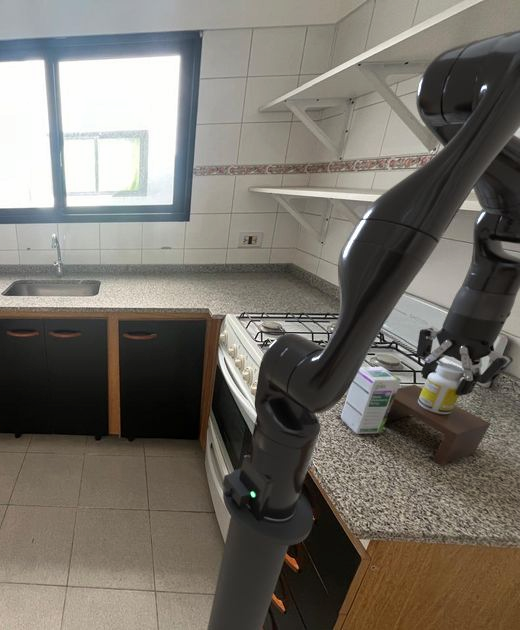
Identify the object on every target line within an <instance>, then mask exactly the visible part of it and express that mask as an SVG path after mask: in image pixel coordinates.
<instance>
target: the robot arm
mask: <svg viewBox="0 0 520 630" xmlns="http://www.w3.org/2000/svg"><path fill="white" fill-rule="evenodd" d="M415 95H416V96H415V100H416V101H415V104H416V110H417V113H418V115H419V118H420V119H421V121H422V122H423V124H424V125H425V126H426V128H427V129H428V130H429V131H430V132H431V133H432V134H433V136H434V137H435V138H436V139H437V141H439V143H440V144H441V145H442V149H440V151H439V152H438V153H436V155H434V156H433V157H432V158H431V159H429V160H428V161H427V162H426V163H424V164H423V165H421V166H420V167H419V168H418V169H416V170H414V171H413V172H412V173H410V174H409V175H407V176H406V177H405V178H403V179H402V180H400V181H399V182H398V183H396V184H394V185H393V186H392V187H390V188H389V189H388V190H386V191H385V192H384V193H382V194H381V195H380V196H379V197H378V198H376V199H375V200H374V201H373V202H372V203H371V204H369V206H368V207H367V208H366V209H365V210H364V211H363V213H361V216H360V217H359V219H358V220H357V222H356V224H355V225H354V227H353V228H352V231H351V232H350V234H349V235H348V238H347V239H346V241H345V242H344V244H343V246H342V248H341V250H340V252H339V255H338V262H337V278H338V279H337V280H338V281H337V282H338V291H339V292H338V293H339V311H338V316H337V320H336V324H335V326H334V328H333V330H332V333H331V335H330V337H329V339H328V341H327V343H326V344H325V346H322V345H320V344H318V343H316V342H314V341H312V340H310V339H308V338H306V337H304V336H302V335H300V334H296V333H285V334H282V335H279V336H278V337H276V338H275V339H274V340H272V342H271V343H270V344H269V345H268V347H267V348H266V350H265V351H264V353H263V355H262V358H261V361H260V364H259V369H258V373H257V382H256V389H255V395H254V410H255V413H256V418H255V421H254V422H255V423H254V427H253V431H252V434H251V435H252V436H251V440H250V445H249V449H248V454H247V455H244V456H243V457H242V462H241V466H240V468H241V471H240V476H238V474H237V473H236V472H235V473H232V472H231V473H228V474H225V475H224V476H223V482H222V485H223V488H224V487H225V488H226V489H227V490H226V491H225V493H224V494H225V496H226V497H233V499H234V500H235V501H236V503H237V504H238V505H239V506H241V505H244V504H245V506H246V507H247V508H248V509H249V511H250V512H251V513H252V515H253V516H254V517H255V518H256V520H257V521H261V520H265V521H268V522H272V523H284V522H287V521H289V520H291V519H292V518H293V516H294V514H295V511H296V505H297V502H298V499H299V500H301V494H300V492H302V489H303V486H304V483H305V479H306V476H307V473H308V470H309V466H310V463H311V460H312V458H313V454H314V451H315V447H316V445H317V441H318V439H319V435H320V433H321V423H320V419H319V418H318V416H317V415H318V414H324V413H325V412H328V411H330V410H331V409H332V408H334V407H336V405H337V404H339V402H340V401H341V400H342V398H343V397H344V396H345V395H346V393H348V391H349V389H350V386H351V384H352V382H353V380H354V379H355V377H356V375H357V373H358V371H359V369H360V368H361V367H362V366H363V363H364V362H365V360H366V358H367V357H368V354H369V352H370V350H371V348H372V347H373V345H374V343H375V341H376V339H377V337H378V335H379V333H380V331H382V328H383V326H384V324H385V323H386V322H387V320H388V318H389V317H390V315H391V314H392V312H393V310H394V309H395V307H396V305H397V304H398V303H399V301H400V300H401V298H402V297H403V296H404V293H405V292H406V291H407V289H408V288H409V286H410V285H411V283H412V282H413V281H414V280H415V278H416V276H417V275H418V274H419V273H420V272H421V270H422V268H423V267H424V265H425V264H426V263H427V261H428V259H429V258H430V257H431V255H432V254H433V252H434V250H435V249H436V248H437V247H438V244H439V243H440V241H441V239H442V238H443V236H444V235H445V233H446V231H447V229H448V228H449V226H450V224H451V223H452V221H453V220H454V218H455V217H456V215H457V213H458V212H459V210H460V209H461V208H462V206H463V204H464V203H465V201H466V200H467V198H468V197H469V195H471V192H472V191H474V194H475V196H476V200H477V202H478V204H479V206H480V208H481V210H480V211H479V212H478V214H477V215H476V217H475V219H474V222H473V233H472V239H473V240H472V241H473V242H472V252H471V260H470V265H469V268H468V271H467V272H466V275H465V277H464V278H463V282H462V284H461V286H460V288H459V289H458V291H457V292H456V294H455V296H454V298H453V299H452V303H451V305H450V307H449V310H448V312H447V314H446V317H445V319H444V320H443V323H442V326H441V327H442V328H441V329H440V330H436V329H434V328H432V327H429V328H422V329H420V330H419V334H418V340H417V347H416V355H417V356H418V357H421V358H422V359H423V360H424V363H423V366H422V369H420V370H421V371H420V375H421V378H422V379H424V380H427V377H428V375H429V374H430V373H431V372H435V371H436V368H437V366H438V364H439V361H441V360H442V359H443V358H445V357H450V358H454V359H455V360H457V361H459V362H460V363H461V368H462V369H463V370H464V377H463V378H461V380H462V381H461V383H460V385H459V387H458V389H457V391H456V394H457V395H459V397H462V396H466V395H470V394H471V393H473V391H474V388H475V387H476V385H477V383H478V384H482V385H483V384H487V383H492V382H494V381H496V379H497V378H498V377H499V376H500V375H501V374H502V373H503V372H504V371H505V370H506V369H507V368H508V367H509V365H510V364H512V362H513V361H514V359H513V358H512V356H509V355H506V356H504V355H503V354H501V353H499V352H497V351H495V346H494V344H495V342H496V341H497V339H498V337H499V335H500V333H501V331H502V329H503V327H504V325H505V323H506V321H507V319H508V318H509V317H510V316H511V313H512V311H513V310H512V309H513V307H514V305H515V301H516V298H517V296H518V293H519V291H520V257H518V256H515V255H513V254H510V253H508V252H506V251H505V249H504V246H503V243H510V244H517V245H520V137H518V136H517V135H515V134H516V133H517V132H518V130H519V129H520V29H517V30H513V31H510V32H504V33H501V34H497V35H493V36H488V37H484V38H479V39H476V40H472V41H468V42H465V43H461V44H458V45H454V46H452V47H449V48H448V49H447V48H446V49H445V50H444V51H441V53H439V54H438V55H436V56H435V57H434V58H433V59H432V60H431V62H430V63H429V64H428V65H427V66H426V68H425V70H424V71H423V74H422V75H421V78H420V79H419V83H418V85H417V89H416V94H415ZM434 340H437V342H438V345H439V346H437V348H435V349H434V350H433V349H432V348H433V342H434ZM485 357H488V358H489V359H488V363H489V364H490V365H489V366H488V367H487V368H486V369H485V370H484V372H482V371H481V370H482V366H483V362H482V359H483V358H485Z"/></svg>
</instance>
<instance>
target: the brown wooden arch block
mask: <svg viewBox="0 0 520 630" xmlns="http://www.w3.org/2000/svg"><path fill="white" fill-rule="evenodd" d="M422 389H423V387H420V386H418V385H416V384H412V385H408V386H403V387H400V388H399V387H398V390H397V393H396V395H395V398H394V401H393V403H392V406H391V409H390V411H389V414H388V416H387V419H386V422H385V423H388V422H391V421H395V420H398V419H402V418H406V417H409V416H412V417H414V418H415V419H417V420H419V421H420V422H422V423H424V424H426V425H427V426H429V427H431V428H432V429H434V430H436V431H438V432H439V433H441V434H443V435H444V436H443V439H442V441H441V442H440V445H439V446H438V449H437V450H436V452H435V454H434V456H433V458H432V460H433V461H434V462H436V463H437V464H439V465H440V466H442V465H445V464H449V463H450V462H453V461H456V460H459V459H462V458H465V457H468V456H470V455H474V454H475V453H476V451H477V449H478V447H479V445H480V444H481V442H482V440H483V438H484V436H485V435H486V433H487V431H488V429H489V427H490V426H491V425H492V424H491V422H489V421H487V420H485V419H483V418H481V417H479V416H477V415H476V414H473V413H471V412H470V411H467V410H465V409H464V408H462V407H460V406H457V405H456V404H455V405H454V407H453V410H452V411H451V413H449V414H438V413H434V412H431V411H429V410H426V409H425V408H423V407H422V406H420V405H419V403H418V399H419V396H420V394H421V391H422Z"/></svg>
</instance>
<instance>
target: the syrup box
mask: <svg viewBox="0 0 520 630" xmlns="http://www.w3.org/2000/svg"><path fill="white" fill-rule="evenodd" d="M401 382H402V380H401V379H400V378H399V377H398V376H397V375H396V374H395V373H393V372H391V371H390V370H388V369H386V368H384V367H383V366H381V365H380V366H363V367H362V366H361V368H360V369H359V371H358V373H357V375H356V377H355V379H354V380H353V382H352V384H351V386H350V387H349V389H348V391H347V396H346V399H345V402H344V406H343V408H342V412H341V415H340V419H341V420H342V421H343V422H344V423H345V424H346V425H347V426H348V428H350V429H351V430H352V431H353V433H355V434H356V435H360V434H362V435H363V434H382V433H383V429H384V427H385V425H386V423H387V422H386V419H387V416H388V414H389V411H390V409H391V406H392V403H393V401H394V398H395V395H396V393H397V390H398V389H399V387H400V385H401Z"/></svg>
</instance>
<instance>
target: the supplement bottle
mask: <svg viewBox="0 0 520 630" xmlns="http://www.w3.org/2000/svg"><path fill="white" fill-rule="evenodd" d="M438 363H439V362H438ZM464 376H465V373H464V369H463V368H462V367H461V366H458V365H455V364H453V363H446V362H440V363H439V364H438V366H437V368H436V370H435V372H431V373H430V374H429V375H428V377H427V379H425V383H424V384H423V386H422V391H421V394H420V396H419V399H418V403H419V405H420V406H422V407H423V408H425V409H426V410H429V411H431V412H434V413H438V414H449V413H451V411H452V410H453V407H454V405H456V403H457V401H458V399H459V398H460V396H459V395H457V394H456V391H457V389H458V387H459V385H460V383H461V381H462V379H463V378H464Z"/></svg>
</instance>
